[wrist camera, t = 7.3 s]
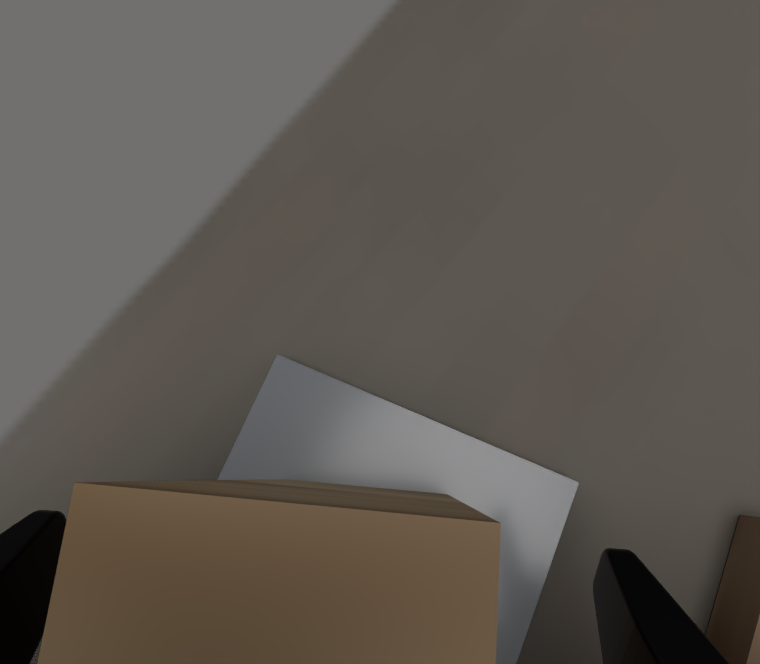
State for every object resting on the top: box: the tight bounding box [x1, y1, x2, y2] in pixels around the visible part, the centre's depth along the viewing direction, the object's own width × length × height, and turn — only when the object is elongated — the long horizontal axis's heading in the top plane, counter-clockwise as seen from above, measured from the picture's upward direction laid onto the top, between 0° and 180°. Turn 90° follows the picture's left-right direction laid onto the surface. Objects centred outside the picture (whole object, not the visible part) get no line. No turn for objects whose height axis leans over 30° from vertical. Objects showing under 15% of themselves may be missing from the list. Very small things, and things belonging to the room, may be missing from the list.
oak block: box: [37, 479, 501, 664], centre depth 10 cm, size 4×4×10 cm
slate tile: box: [217, 354, 579, 664], centre depth 16 cm, size 9×9×1 cm
